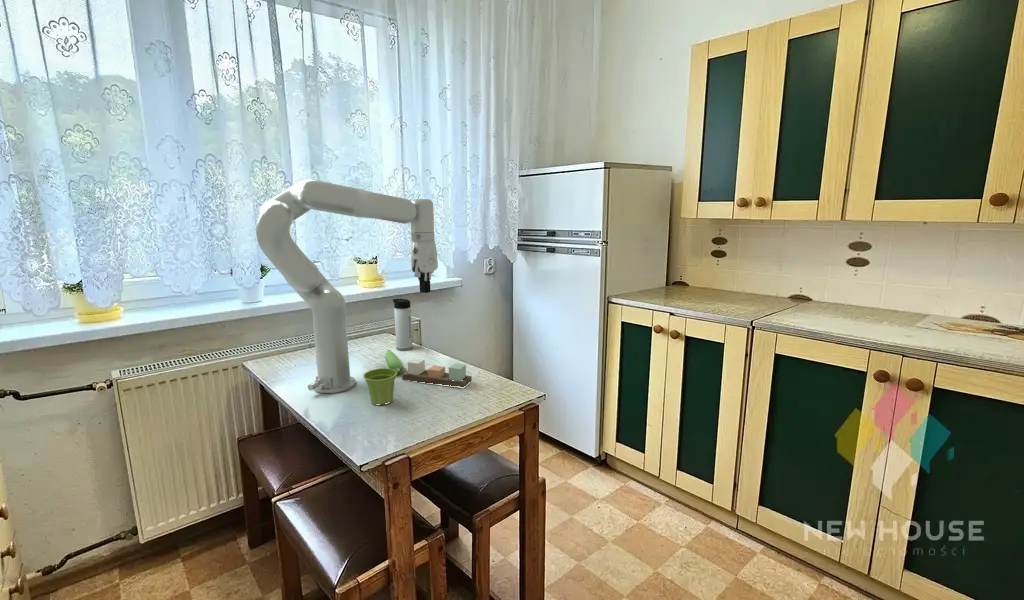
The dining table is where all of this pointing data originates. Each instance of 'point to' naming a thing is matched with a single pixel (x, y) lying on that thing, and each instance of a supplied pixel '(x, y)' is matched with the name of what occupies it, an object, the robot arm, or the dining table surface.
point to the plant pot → (380, 384)
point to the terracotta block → (436, 372)
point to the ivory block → (416, 366)
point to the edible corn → (393, 362)
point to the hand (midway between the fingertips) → (425, 292)
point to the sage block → (457, 372)
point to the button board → (436, 379)
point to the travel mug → (403, 324)
